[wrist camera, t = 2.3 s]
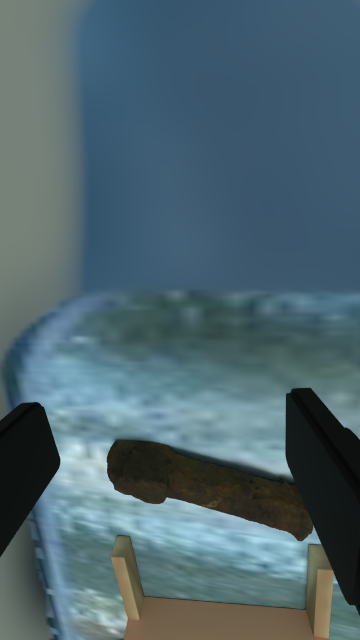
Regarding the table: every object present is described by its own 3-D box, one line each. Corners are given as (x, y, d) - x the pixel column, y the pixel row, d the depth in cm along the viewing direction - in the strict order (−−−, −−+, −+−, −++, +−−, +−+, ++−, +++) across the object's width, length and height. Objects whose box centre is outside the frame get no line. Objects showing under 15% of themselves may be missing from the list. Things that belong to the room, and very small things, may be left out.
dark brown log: (303, 475, 22) (328, 530, 18) (287, 504, 23) (306, 561, 19) (122, 416, 23) (101, 455, 18) (114, 447, 24) (93, 490, 19)
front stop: (319, 611, 27) (338, 670, 23) (318, 618, 27) (337, 678, 23) (132, 595, 30) (122, 645, 26) (134, 603, 30) (124, 653, 26)
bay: (323, 545, 24) (334, 570, 22) (319, 611, 27) (328, 638, 25) (117, 535, 27) (111, 557, 25) (132, 595, 30) (128, 618, 28)
